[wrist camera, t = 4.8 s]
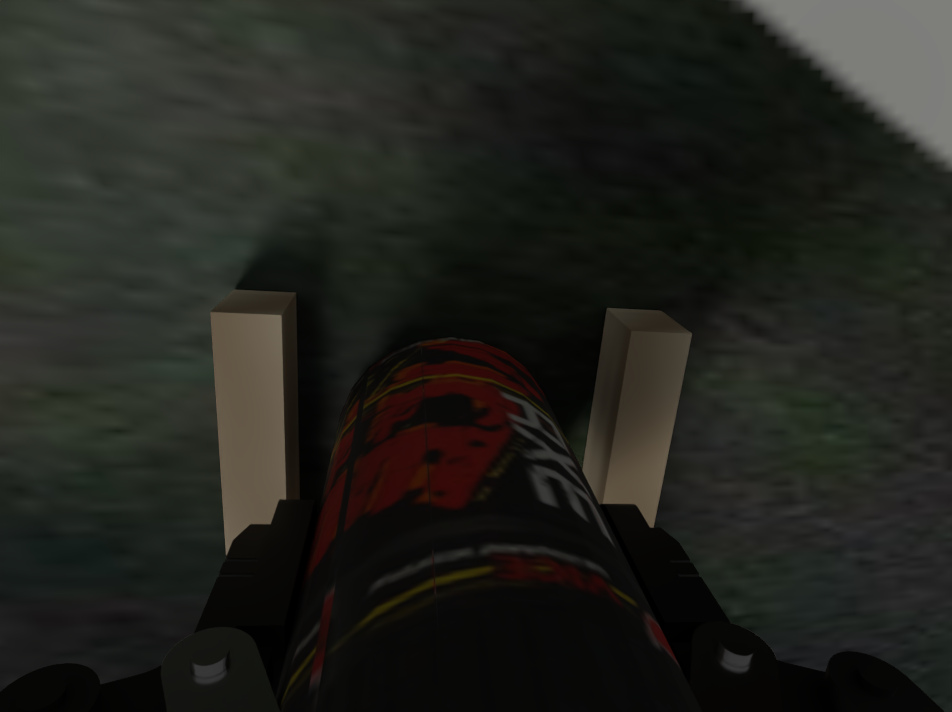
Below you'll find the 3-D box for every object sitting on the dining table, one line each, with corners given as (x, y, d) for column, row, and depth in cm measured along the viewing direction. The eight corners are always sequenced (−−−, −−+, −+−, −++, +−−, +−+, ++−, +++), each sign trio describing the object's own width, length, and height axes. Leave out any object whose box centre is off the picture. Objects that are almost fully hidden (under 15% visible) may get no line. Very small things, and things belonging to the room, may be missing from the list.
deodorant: (582, 368, 17) (1283, 1366, 3) (512, 546, 19) (790, 1684, 5) (369, 310, 16) (131, 1454, 2) (316, 505, 18) (-1, 1818, 4)
